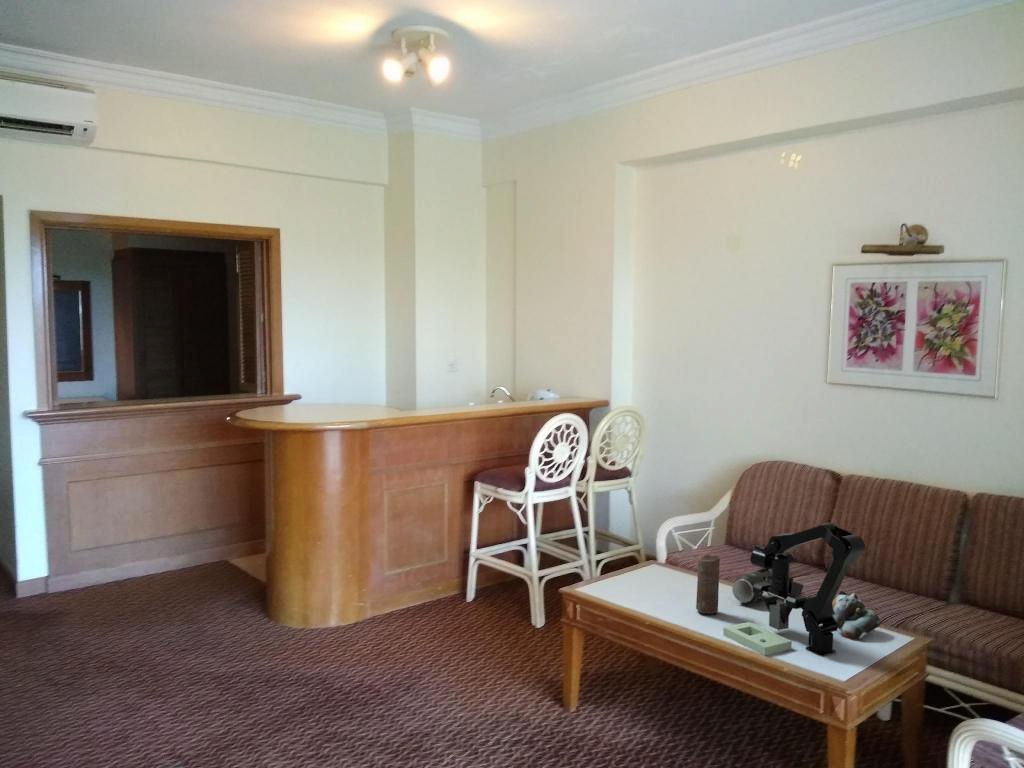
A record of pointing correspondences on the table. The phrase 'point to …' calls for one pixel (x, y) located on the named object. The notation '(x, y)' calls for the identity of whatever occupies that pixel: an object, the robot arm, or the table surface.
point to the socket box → (757, 638)
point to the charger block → (776, 617)
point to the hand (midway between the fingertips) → (778, 621)
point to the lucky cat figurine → (853, 616)
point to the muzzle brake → (750, 585)
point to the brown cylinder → (708, 583)
